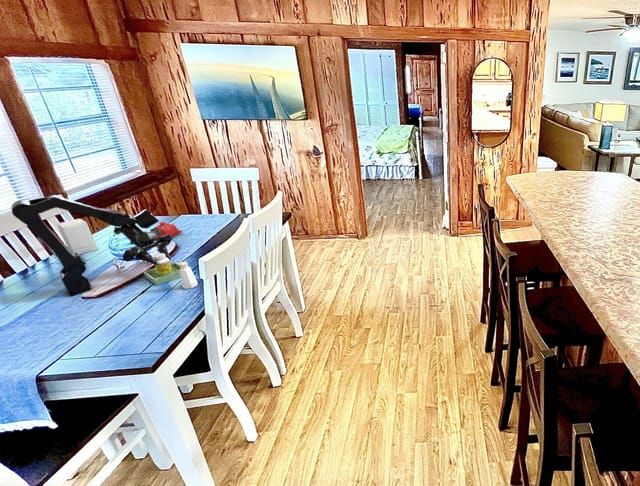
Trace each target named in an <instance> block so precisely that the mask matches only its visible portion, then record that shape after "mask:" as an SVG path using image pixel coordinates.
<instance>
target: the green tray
mask: <svg viewBox="0 0 640 486" xmlns="http://www.w3.org/2000/svg"><path fill="white" fill-rule="evenodd" d="M170 264H171V266H172V269H173V273H172V274H169V275H166V276H163V277H160V276H159V275H158V273H157V270H156V267H154V268H151V269H149V270H145V271H143V273H142V274H143V275H144V278H146V279H147V280H148V281H150V282H151V283H153V284H154V285H156V286H158V285H162V284H164V283H168V282H170V281H173V280H177V279H179V278H181V277H180V272H179V270H180V266H179V263H178V262H176V261H174V262H173V261H172V262H170Z"/></svg>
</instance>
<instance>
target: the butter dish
mask: <svg viewBox="0 0 640 486" xmlns="http://www.w3.org/2000/svg"><path fill="white" fill-rule="evenodd" d="M158 223H159V224H158V225H156V226H155V227H154V228H157V229H159V230H160V232H161V234H159V235H158V236H159V237H156V238H155V239H156V240H158V239H159V238H160V237H162V236H164V235H171V236H172V237H173V238H174V237H175V236H177V235H179V234H181V233H183V231H184V230H179V229H178V227H177V225H175V224H173V223H166V222H165V221H159V222H158Z"/></svg>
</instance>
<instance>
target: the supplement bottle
mask: <svg viewBox="0 0 640 486" xmlns="http://www.w3.org/2000/svg"><path fill="white" fill-rule="evenodd" d="M153 259H154V260H156V261H157V263H158V265H155V264H153V265H154V268H156V270H157V273H158V275H159V276H160V277H163V276H166V275H169V274H172V273H173V269H172V266H171V264H170V263H171V261H170V259H168V258H167V257H166V255H165V254H164V253H159V252H158V253H156V254H154V255H153Z"/></svg>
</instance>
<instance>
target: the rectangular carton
mask: <svg viewBox="0 0 640 486" xmlns="http://www.w3.org/2000/svg"><path fill="white" fill-rule="evenodd" d="M56 226H57V229H58V231H59V233H60V235H61V237H62V240H63V241H64V243H65V246H66V248H67V249H68V250H69V251H70V252H72V253H73V254H74V253H76V252H78V253H79V255H83V254H86V253H89V252H93V251H97V250H99V247H98V245H97V243H96V241H95V239H94V237H93V234H92V232H91V230H90V228H89V225H88V223H87V222H86V221H85V220H83V219H82V218H76V219H72V220H67V221H62V222H57V223H56Z"/></svg>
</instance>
